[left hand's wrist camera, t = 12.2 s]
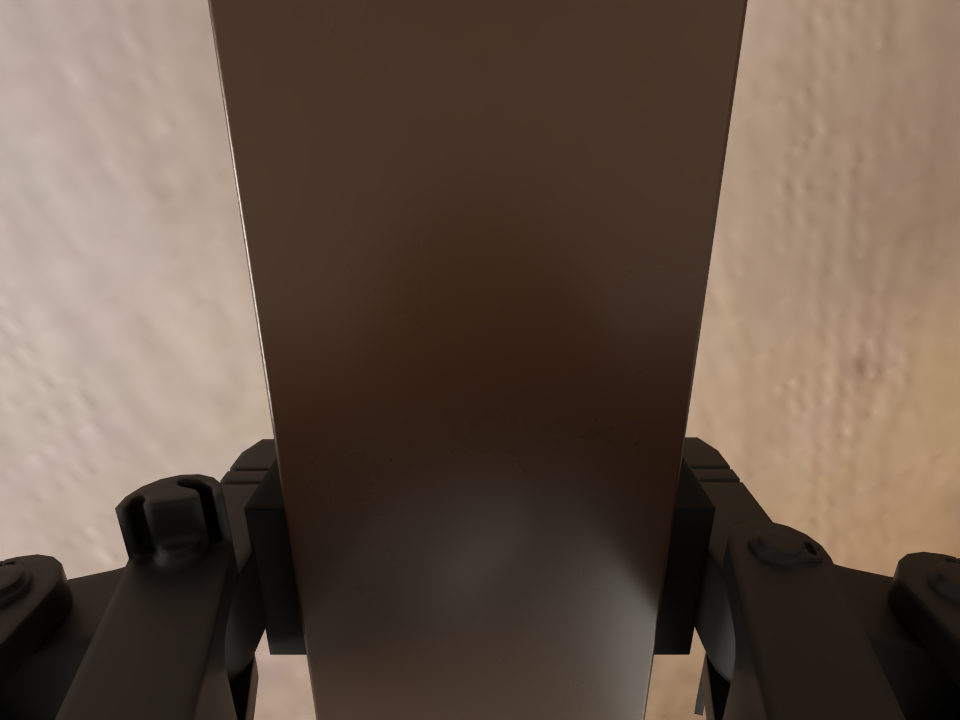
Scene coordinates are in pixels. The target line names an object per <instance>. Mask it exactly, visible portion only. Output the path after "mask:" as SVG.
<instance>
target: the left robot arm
mask: <svg viewBox="0 0 960 720" xmlns="http://www.w3.org/2000/svg"><path fill="white" fill-rule="evenodd" d="M115 510H116V514H117V517H118V521H119V524H120V528H121V531H122V535H123V539H124V542H125V546H126V549H127V553H128V557H129V560H128V563H127V565H126V567H123V568H120V569H116V570H112V571H107V572H103V573H98V574H93V575H89V576H84V577H79V578H74V579H70V580H67V578H66V575H65V572H64V569H63V566H62V564H61V563H60V562H59V561H58V560H56V559H55V558H54V557H51V556H44V555H29V556H21V557H15V558H11V559H7V560H5V561H0V720H253V719H254V711H255V703H256V694H257V686H258V671H257V664H256V659H255V651H256V649H257V646H258V644H259V642H260V639H261V637H262V635H263V633H264V630H265V628H266V634H267V639H268V645H269V650H270V655H307V653H306V646H305V640H304V633H303V626H302V620H301V613H300V606H299V600H298V593H297V587H296V580H295V573H294V567H293V560H292V553H291V547H290V540H289V534H288V527H287V520H286V514H285V507H284V500H283V494H282V487H281V481H280V474H279V467H278V461H277V454H276V447H275V441H274V439H262V440H261V441H259V442H258V443H256V444H255V445H253V446H252V447H250V448H249V449H247V450H245V451H244V452H242V453H241V455H240V456H239V457H238V459H237V460H236V461H235V463H234V464H233V465H232V467H231V468H230V471H228V472H227V473H226V474H225V476H224V477H223V478H222V480H221V481H220V482H218V481H217V480H216V479H215V478H213V477H209V476H204V475H200V474H194V475H178V476H174V477H169V478H164V479H160V480H158V481H155V482H153V483H150V484H148V485H145V486H143V487H141V488H139V489H137V490H136V491H134V492H133V493H131V494H130V495H128V496H126V497H125V498H124V499H123V500H122V501H121V503H120V504H119V505H118V506H117V507H116V508H115ZM694 626H695V628H696V630H697V633H698V635H699V637H700V639H701V642H702V644H703V646H704V649H705V651H706V653H705V659H704V664H703V669H702V674H701V679H700V684H699V690H698V695H697V700H696V707H695V714H698V715H703V710H704V705H705V710H706V718H707V720H960V558H958V559H957V558H955V557H953V556H948V555H944V554H936V553H928V552H919V553H912V554H907V555H906V556H904V557H903V558H902V559H901V560H900V561H899V562H898V565H897V568H896V571H895V574H894V577H888V576H883V575H879V574H874V573H869V572H864V571H860V570H855V569H850V568H846V567H842V566H839V565H835V564H833V561H832V559H831V558H830V556H829V555H828V554H827V552H826V551H825V550H824V548H823V547H822V546H821V545H820V544H818V543H817V542H816V541H814V540H813V539H812V538H810V537H809V536H808V535H806V534H804V533H802V532H800V531H797V530H795V529H793V528H791V527H789V526H785V525H781V524H777V523H773V522H772V520H771V519H770V518H769V517H768V515H767V514H766V513H765V511H764V510H763V509H762V507H761V506H760V505H759V504H758V502H757V501H756V500H755V498H754V497H753V496H752V494H751V493H750V492H749V491H748V489H747V488H746V487H745V485H744V484H743V483H742V482H740V479H739V478H738V476H737V475H736V474H735V472H734V471H733V470H732V469H730V466H729V465H728V463H727V462H726V461H725V459H724V458H723V457H722V455H721V454H720V453H719V452H718V450H716V449H714V448H713V447H711V446H710V445H708V444H707V443H705V442H704V441H702V440H700V439H699V438H697V437H685V440H684V447H683V454H682V461H681V468H680V475H679V482H678V489H677V496H676V503H675V510H674V517H673V524H672V531H671V538H670V545H669V552H668V559H667V566H666V573H665V580H664V587H663V594H662V601H661V608H660V615H659V622H658V629H657V636H656V643H655V650H654V655H689V654H690V648H691V643H692V637H693V632H694Z"/></svg>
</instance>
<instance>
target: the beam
mask: <svg viewBox="0 0 960 720" xmlns="http://www.w3.org/2000/svg"><path fill="white" fill-rule="evenodd" d="M747 1H748V0H208V3H209V10H210V17H211V23H212V30H213V36H214V43H215V50H216V56H217V63H218V70H219V76H220V83H221V89H222V96H223V103H224V109H225V116H226V123H227V129H228V136H229V143H230V149H231V156H232V162H233V169H234V176H235V182H236V189H237V196H238V202H239V209H240V215H241V222H242V229H243V235H244V242H245V249H246V255H247V262H248V268H249V275H250V282H251V288H252V295H253V302H254V308H255V315H256V321H257V328H258V335H259V341H260V348H261V355H262V361H263V368H264V374H265V381H266V388H267V394H268V401H269V408H270V414H271V421H272V427H273V434H274V441H275V447H276V454H277V461H278V467H279V474H280V481H281V487H282V494H283V500H284V507H285V514H286V520H287V527H288V534H289V540H290V547H291V553H292V560H293V567H294V573H295V580H296V587H297V593H298V600H299V606H300V613H301V620H302V626H303V633H304V640H305V646H306V653H307V659H308V666H309V673H310V679H311V686H312V693H313V699H314V706H315V712H316V719H317V720H645V713H646V706H647V699H648V692H649V685H650V678H651V671H652V664H653V657H654V650H655V643H656V636H657V629H658V622H659V615H660V608H661V601H662V594H663V587H664V580H665V573H666V566H667V559H668V552H669V545H670V538H671V531H672V524H673V517H674V510H675V503H676V496H677V489H678V482H679V475H680V468H681V461H682V454H683V447H684V440H685V433H686V427H687V420H688V413H689V406H690V399H691V392H692V385H693V378H694V371H695V364H696V357H697V350H698V343H699V336H700V329H701V322H702V315H703V308H704V301H705V294H706V287H707V280H708V273H709V266H710V259H711V252H712V245H713V238H714V231H715V224H716V217H717V210H718V203H719V196H720V189H721V182H722V175H723V168H724V161H725V154H726V147H727V140H728V133H729V126H730V119H731V112H732V105H733V98H734V92H735V85H736V78H737V71H738V64H739V57H740V50H741V43H742V36H743V29H744V22H745V15H746V8H747Z"/></svg>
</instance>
